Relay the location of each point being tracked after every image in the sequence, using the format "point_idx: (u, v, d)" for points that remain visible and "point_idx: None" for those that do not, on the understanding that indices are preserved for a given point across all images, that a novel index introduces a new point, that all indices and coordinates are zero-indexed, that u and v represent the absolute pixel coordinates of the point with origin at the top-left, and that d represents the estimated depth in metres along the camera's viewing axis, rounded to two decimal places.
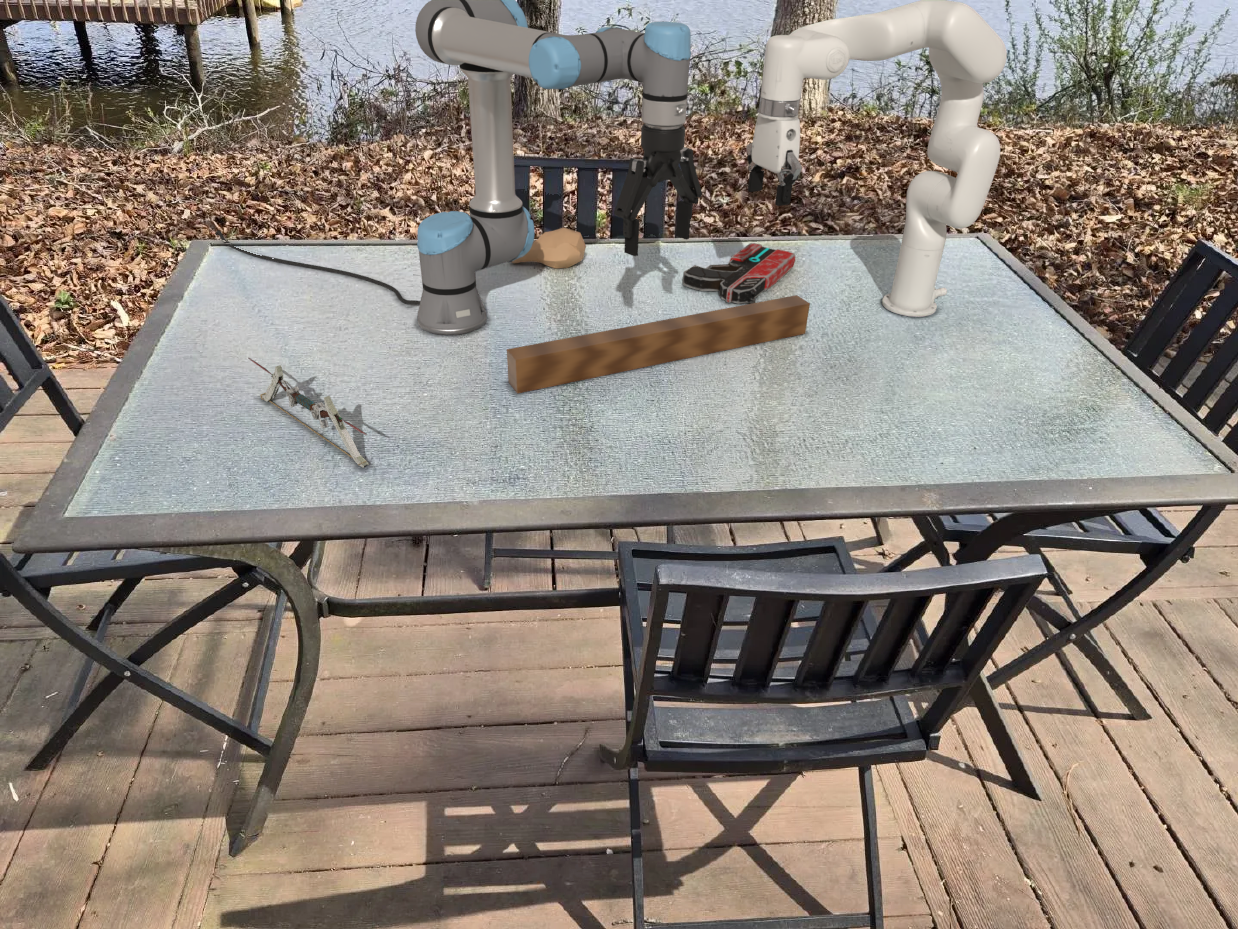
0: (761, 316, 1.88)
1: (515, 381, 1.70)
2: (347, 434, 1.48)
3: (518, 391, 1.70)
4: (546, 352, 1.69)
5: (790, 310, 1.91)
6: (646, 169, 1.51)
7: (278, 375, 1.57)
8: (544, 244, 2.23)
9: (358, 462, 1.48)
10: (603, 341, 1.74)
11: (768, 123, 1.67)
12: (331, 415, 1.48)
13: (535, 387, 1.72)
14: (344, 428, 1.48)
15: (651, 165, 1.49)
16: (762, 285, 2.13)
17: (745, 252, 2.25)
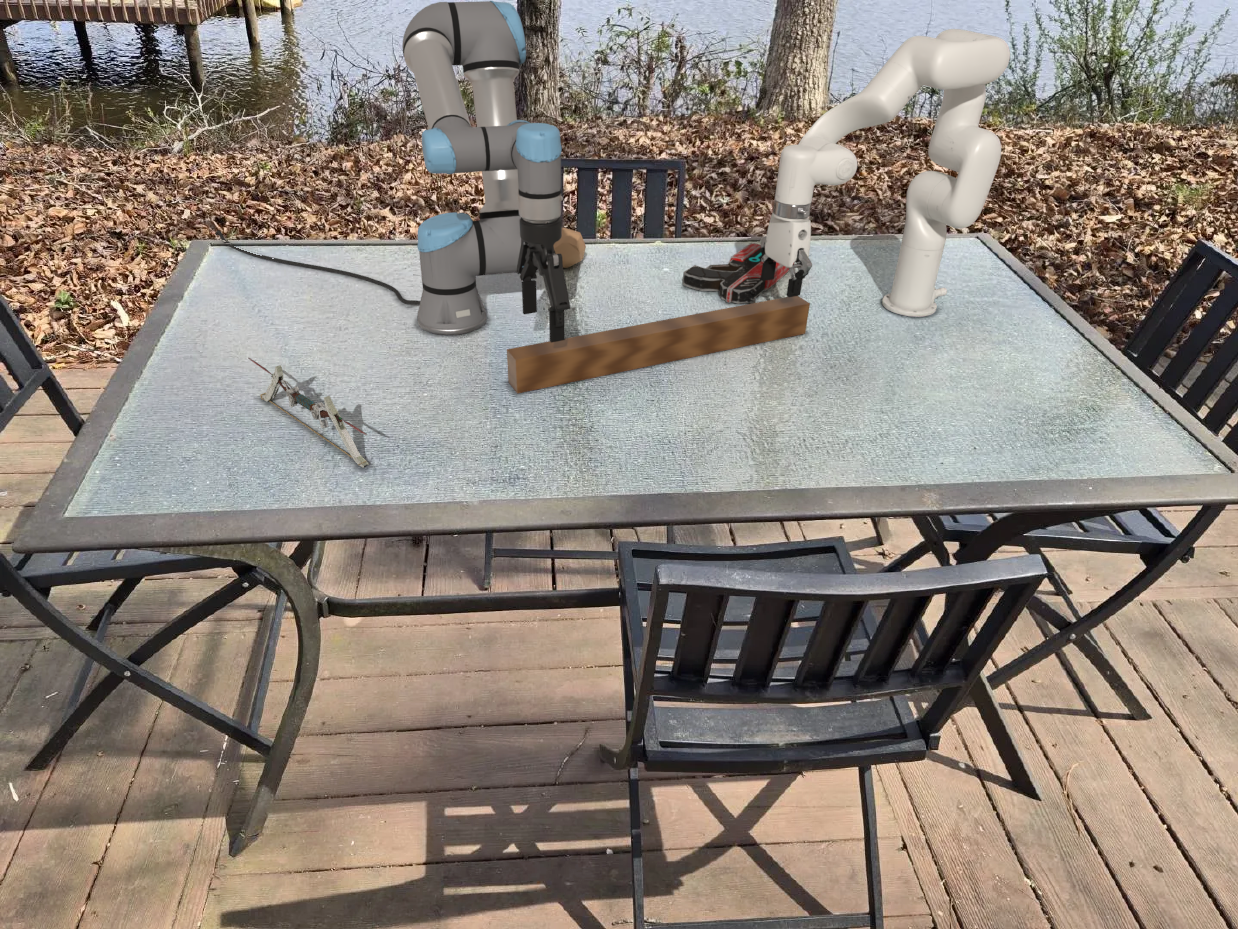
0: (761, 316, 1.88)
1: (515, 381, 1.70)
2: (347, 434, 1.48)
3: (518, 391, 1.70)
4: (546, 352, 1.69)
5: (790, 310, 1.91)
6: None
7: (278, 375, 1.57)
8: None
9: (358, 462, 1.48)
10: (603, 341, 1.74)
11: (781, 223, 1.80)
12: (331, 415, 1.48)
13: (535, 387, 1.72)
14: (344, 428, 1.48)
15: None
16: (762, 285, 2.13)
17: (745, 252, 2.25)
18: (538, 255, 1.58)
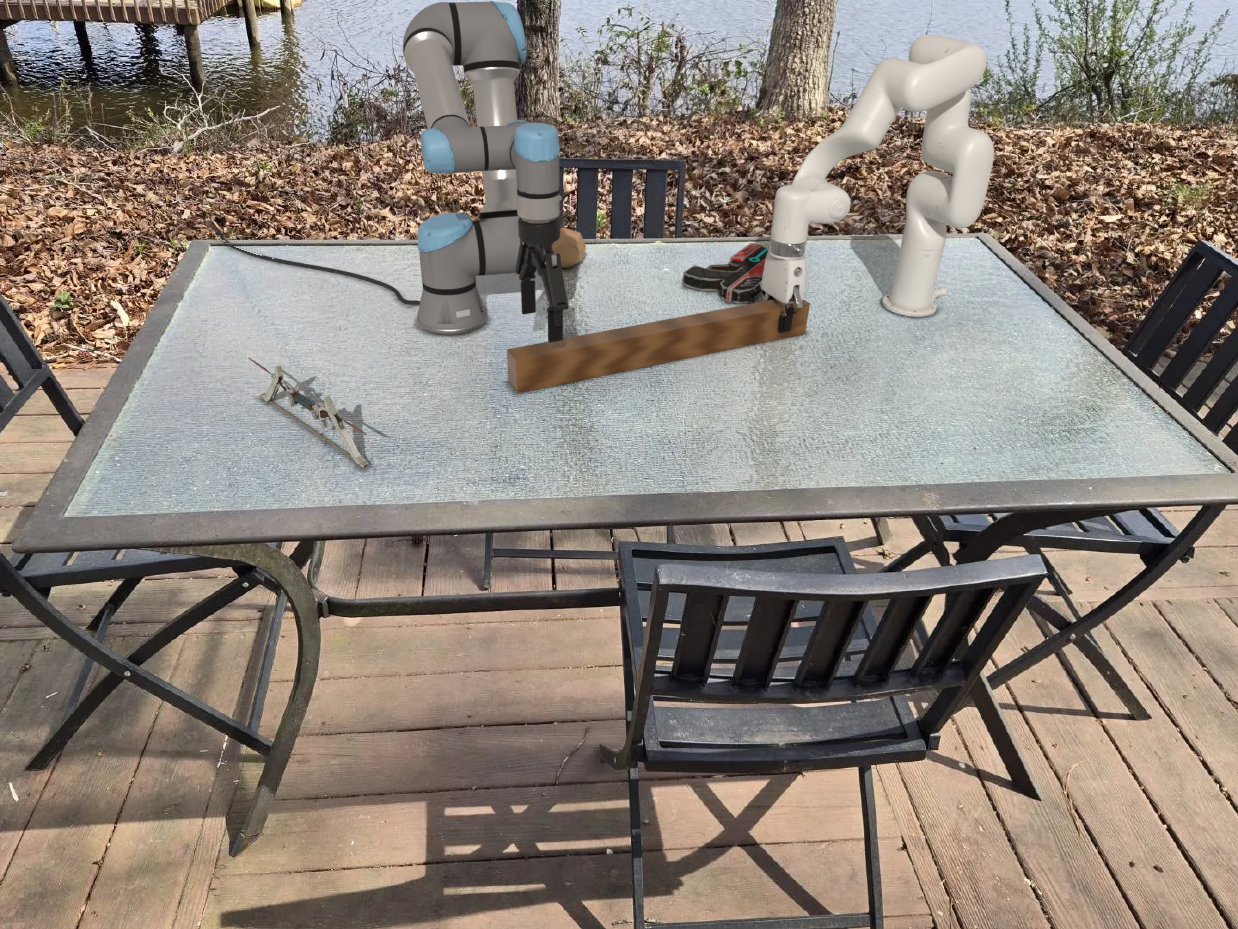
0: (761, 316, 1.88)
1: (515, 381, 1.70)
2: (347, 434, 1.48)
3: (518, 391, 1.70)
4: (546, 352, 1.69)
5: None
6: None
7: (278, 375, 1.57)
8: None
9: (358, 462, 1.48)
10: (603, 341, 1.74)
11: (777, 261, 1.85)
12: (331, 415, 1.48)
13: (535, 387, 1.72)
14: (344, 428, 1.48)
15: None
16: None
17: (745, 252, 2.25)
18: (536, 255, 1.58)
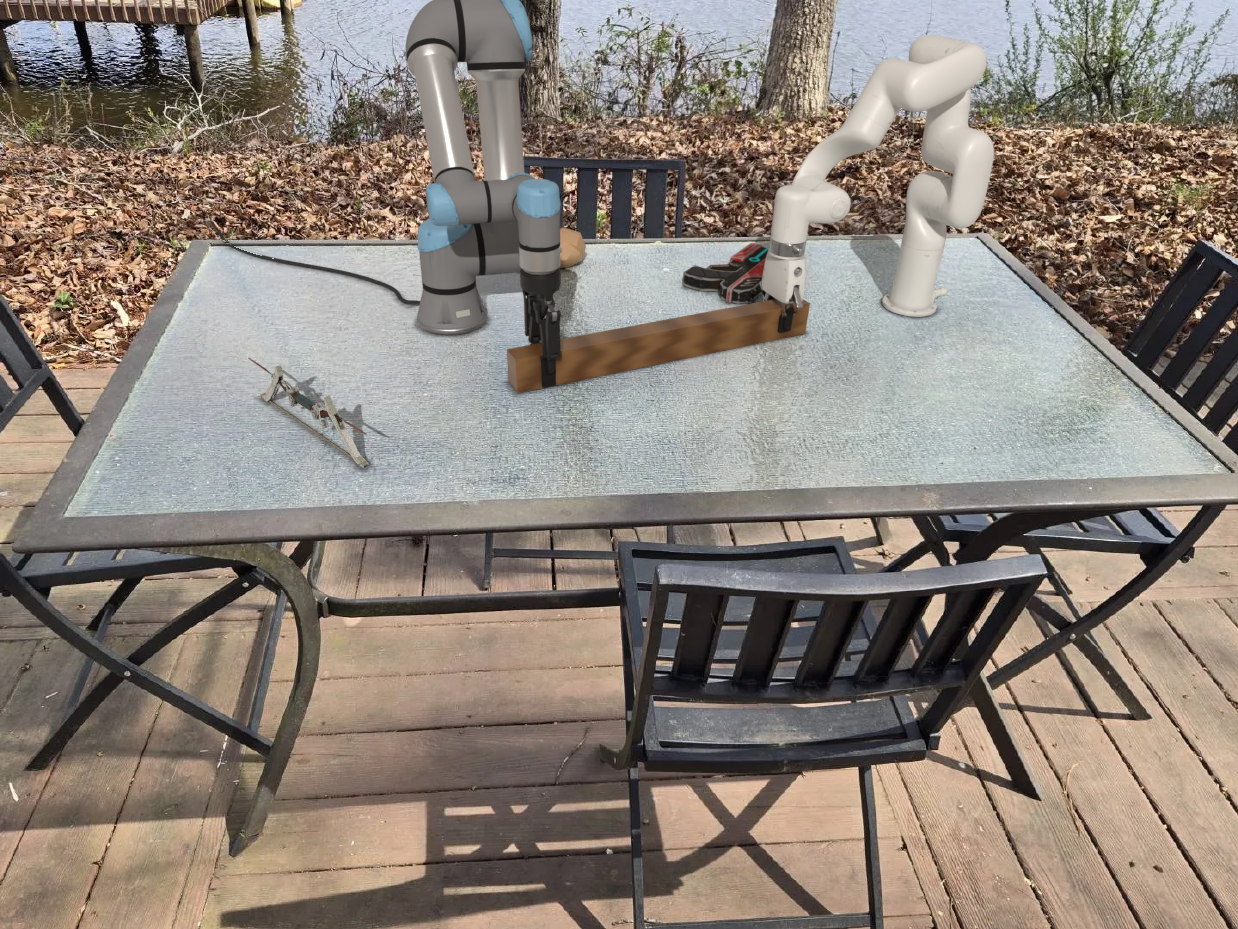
0: (761, 316, 1.88)
1: (515, 381, 1.70)
2: (347, 434, 1.48)
3: (518, 391, 1.70)
4: None
5: None
6: (545, 310, 1.63)
7: (278, 375, 1.57)
8: None
9: (358, 462, 1.48)
10: (603, 341, 1.74)
11: (777, 261, 1.85)
12: (331, 415, 1.48)
13: (535, 387, 1.72)
14: (344, 428, 1.48)
15: (553, 304, 1.63)
16: None
17: (745, 252, 2.25)
18: (538, 306, 1.63)
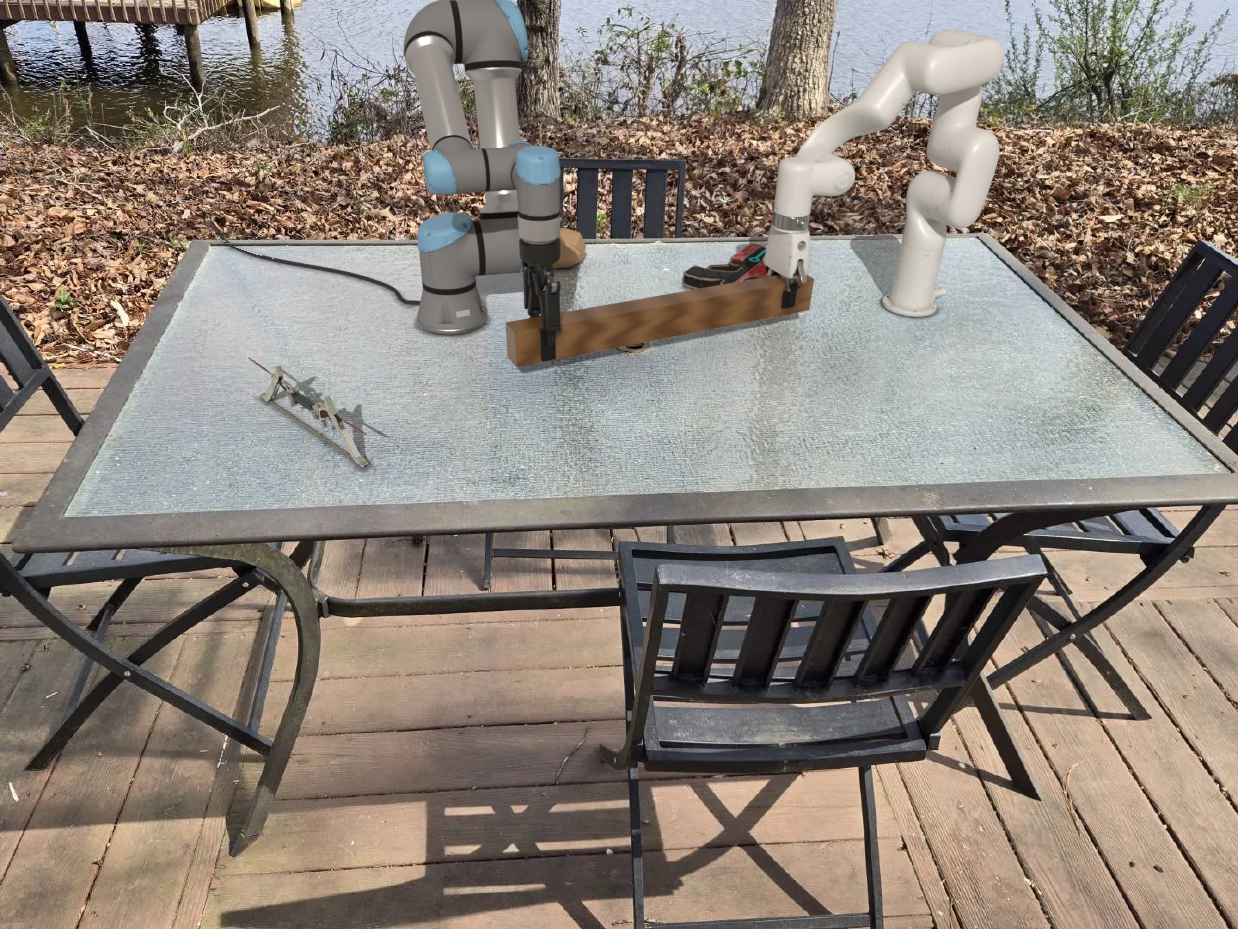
0: (765, 291, 1.85)
1: (514, 354, 1.67)
2: (347, 434, 1.48)
3: (517, 364, 1.67)
4: None
5: None
6: None
7: (278, 375, 1.57)
8: None
9: (358, 462, 1.48)
10: (604, 314, 1.71)
11: (781, 234, 1.82)
12: (331, 415, 1.48)
13: (534, 361, 1.69)
14: (344, 428, 1.48)
15: (553, 275, 1.59)
16: None
17: (745, 252, 2.25)
18: (537, 277, 1.60)
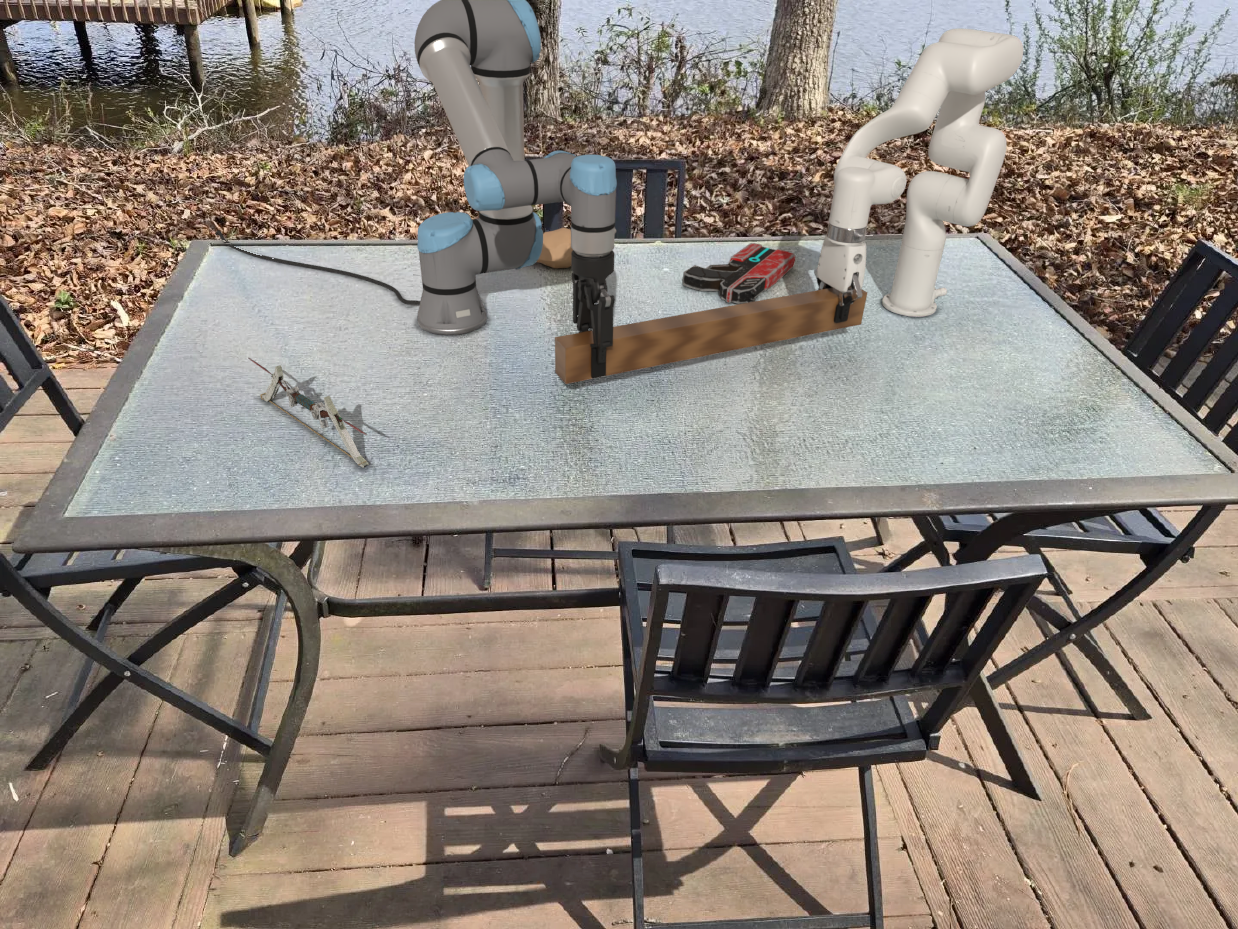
0: (818, 305, 1.79)
1: (564, 371, 1.60)
2: (347, 434, 1.48)
3: (567, 381, 1.61)
4: None
5: None
6: None
7: (278, 375, 1.57)
8: (544, 244, 2.23)
9: (358, 462, 1.48)
10: (656, 329, 1.65)
11: (836, 247, 1.75)
12: (331, 415, 1.48)
13: (584, 377, 1.62)
14: (344, 428, 1.48)
15: None
16: (762, 285, 2.13)
17: (745, 252, 2.25)
18: (590, 290, 1.54)
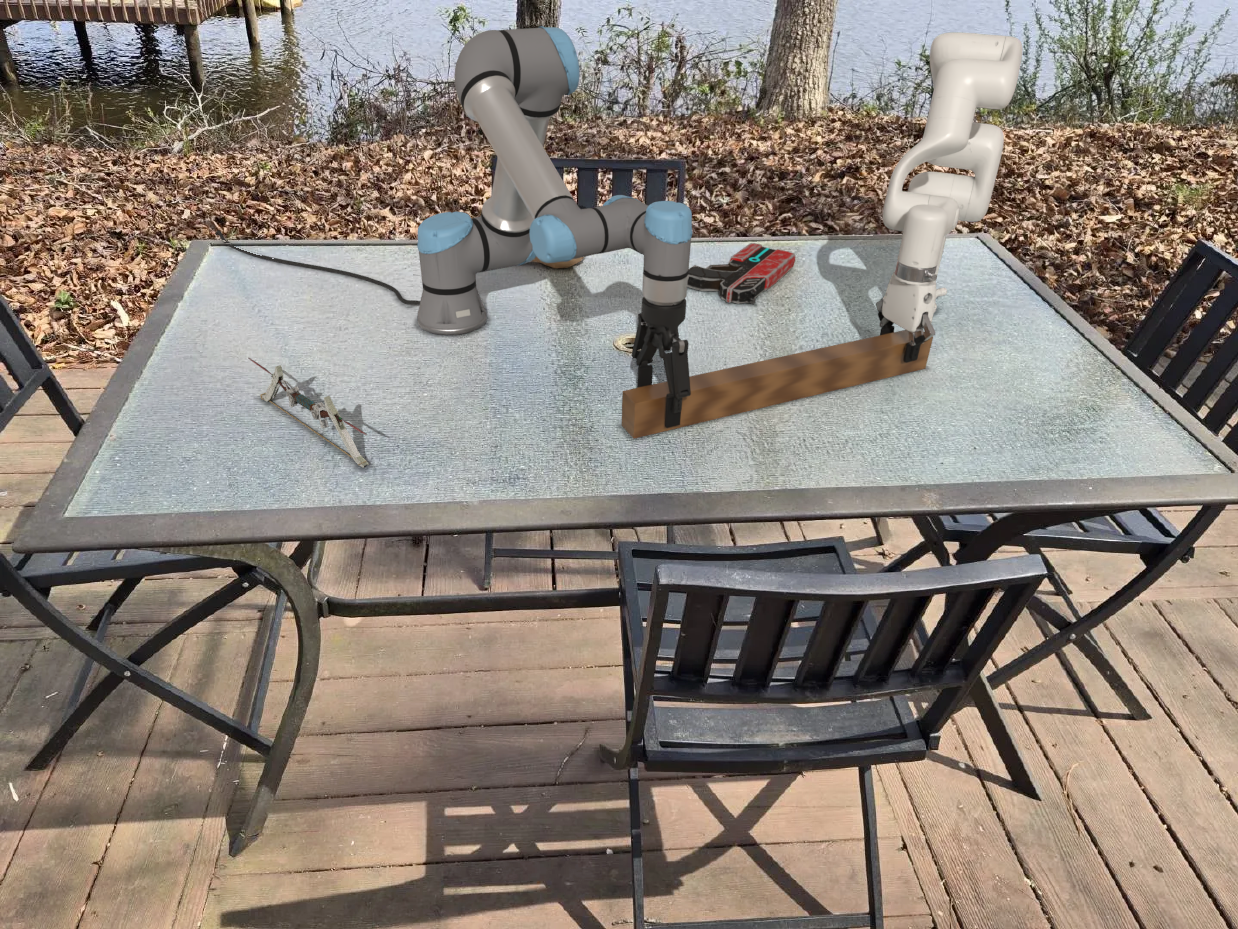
0: (884, 351, 1.75)
1: (632, 425, 1.57)
2: (347, 434, 1.48)
3: (635, 436, 1.57)
4: None
5: None
6: None
7: (278, 375, 1.57)
8: None
9: (358, 462, 1.48)
10: (724, 381, 1.61)
11: (904, 286, 1.71)
12: (331, 415, 1.48)
13: (652, 431, 1.59)
14: (344, 428, 1.48)
15: None
16: (762, 285, 2.13)
17: (745, 252, 2.25)
18: (660, 337, 1.49)
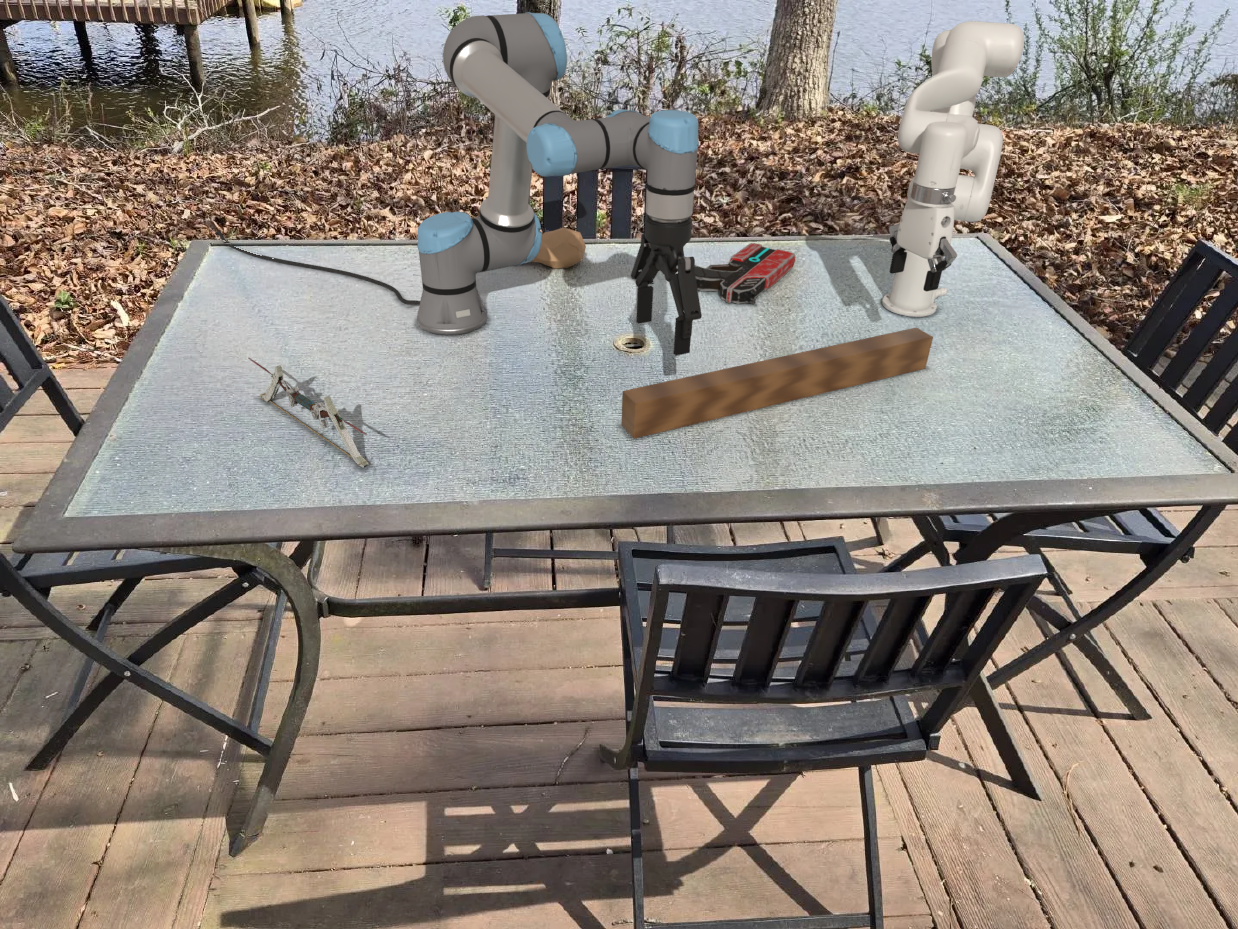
0: (884, 351, 1.75)
1: (632, 425, 1.57)
2: (347, 434, 1.48)
3: (635, 436, 1.57)
4: (666, 395, 1.56)
5: (913, 345, 1.78)
6: None
7: (278, 375, 1.57)
8: (544, 244, 2.23)
9: (358, 462, 1.48)
10: (724, 381, 1.61)
11: (921, 209, 1.62)
12: (331, 415, 1.48)
13: (652, 431, 1.59)
14: (344, 428, 1.48)
15: None
16: (762, 285, 2.13)
17: (745, 252, 2.25)
18: (665, 258, 1.41)
